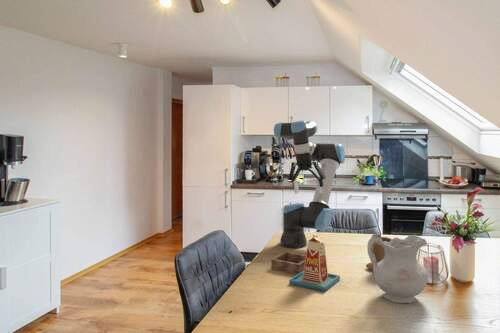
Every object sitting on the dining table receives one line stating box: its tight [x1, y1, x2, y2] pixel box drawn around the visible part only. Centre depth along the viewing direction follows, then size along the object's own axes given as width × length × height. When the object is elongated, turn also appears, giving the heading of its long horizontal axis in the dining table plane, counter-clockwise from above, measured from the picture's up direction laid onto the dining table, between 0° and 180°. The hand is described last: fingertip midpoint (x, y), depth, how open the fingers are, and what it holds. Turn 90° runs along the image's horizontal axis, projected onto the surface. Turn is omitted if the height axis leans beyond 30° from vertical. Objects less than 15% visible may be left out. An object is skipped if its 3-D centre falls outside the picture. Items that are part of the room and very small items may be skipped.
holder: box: [270, 251, 306, 275], centre depth 192 cm, size 14×14×4 cm
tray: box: [288, 271, 341, 293], centre depth 173 cm, size 16×16×2 cm
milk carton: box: [302, 234, 329, 285], centre depth 172 cm, size 9×9×20 cm
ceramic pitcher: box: [367, 233, 429, 304], centre depth 155 cm, size 22×20×25 cm
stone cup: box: [365, 236, 393, 271], centre depth 188 cm, size 15×12×15 cm
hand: (308, 193), depth 207 cm, fingers open, 13 cm apart
